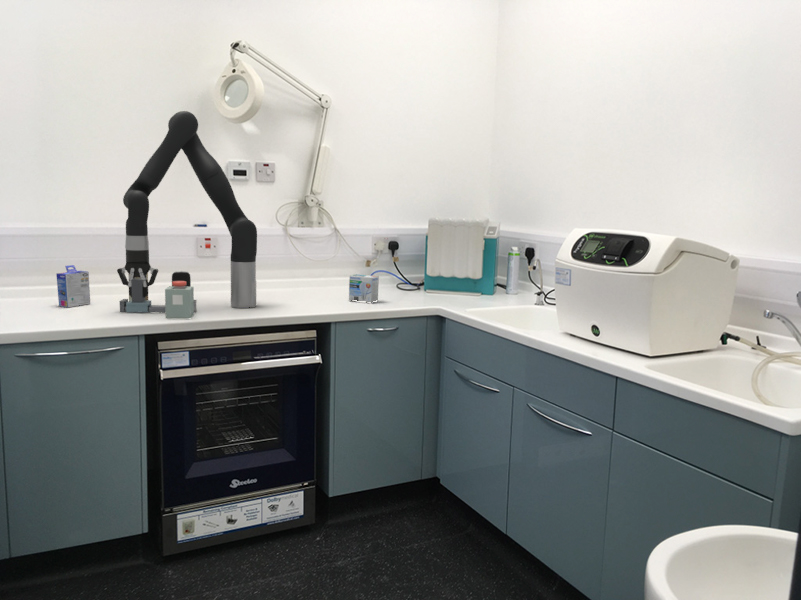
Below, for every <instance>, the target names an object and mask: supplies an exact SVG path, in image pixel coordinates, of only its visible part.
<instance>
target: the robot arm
mask: <svg viewBox="0 0 801 600" xmlns="http://www.w3.org/2000/svg"><path fill="white" fill-rule="evenodd" d="M167 125H168V126H167V127H168V129H167V133H166V135H165V136H164V139H163V140H162V141H161V143H160V144H159V146H158V147H157V149H156V150H155V151H154V152H153V154H152V156H150V158H149V159H148V161H147V162H146V163H145V164H144V167H142V170H141V171H140V173H139V175H138V176H137V178H136V179H135V180H134V181H133V183H132V184H131V185H130V186H129V188H128V189H127V190H126V192H125V193H124V195H123V198H122V202H123V205H124V207H126V209H127V219H126V221H125V246H124V247H125V265H124V266H123V267H119V268H117V270H116V271H117V275H118V276H119V278H120V279H119V280H120V281H121V284H122V285H124V286H127V287H128V297H129V296H131V297H132V287H131V280H133V279H135V277H139V278H141V280H142V281H143V286H144V287H143V298H146V297H147V296H148V297H149V286H152V285H154V284H155V281H156V278H157V276H158V273H159V269H158V268H154V267H152V266H151V264H150V247H149V245H150V243H149V236H148V235H149V234H148V233H149V231H148V228H149V227H148V219H149V211H150V201H149V196H151V193H152V192H153V191H155V190H156V189H157V188H158V187H159V185H160V184H161V182H162V180H163V179H164V177H165V175H167V173H168V171H169V169H170V167H171V165H172V164H173V162H174V160H175V159H176V157H177V156H178V154H179V152H180V151H181V150H182V151H183V153H184V155H185V156H186V157H187V160H188V162H189V164H190V166H191V168H192V169H193V172H194V174H195V175H196V178H197V180H198V181H199V182H200V185H201V186H202V188H203V189H204V191H205V193H206V194H207V196H208V197H209V199H210V200H211V202H212V203H213V204H214V206H215V207H216V209H217V210H218V212H219V213H220V214H221V216H222V218H223V221H224V223H225V225H226V227H227V230H228V232H229V234H230V236H231V249H230V250H231V251H230V307H231V306H232V308H236V309H237V308H238V309H249V307H250V308H256V306H257V276H256V275H257V273H256V272H257V270H256V269H257V268H256V267H257V265H256V264H257V262H256V260H257V259H256V258H257V254H258V253H257V251H258V230H257V229H258V228H257V227H256V224H255V223H254V222H253V221H252V220H250V219H249V218H248V217H247V216H246V215H245V213H244V211H243V210H242V209H241V207H240V205H239V203H238V202H237V201H238V200H237V198H236V196H235V193H234V190H233V188H232V185H231V183H230V181H229V179H228V177H227V175H226V174H225V172H224V170H223V169H222V167H221V165H220V164H219V163H218V161H217V160H216V159H215V158H214V157H213V156H212V154H210V152H209V151H208V150H207V149H206V148H205V146H204V144H203V143H202V141H201V139H200V137H199V135H198V132H197V131H198V130H199V122H198V118H197V117H196V116H195V114H193V113H192V112H191V111H188V110H184V111H183V110H182V111H178V112H176V113H174V114H172V116H171V117H170V118H169V120H168V123H167ZM149 271H150V275H151V276H150V278H149V280H148V281H147V275H146V274H147V273H148V274H149ZM126 272H127V274H128V273H129V274H130V276H129V275H128V279H127V277H126Z"/></svg>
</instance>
